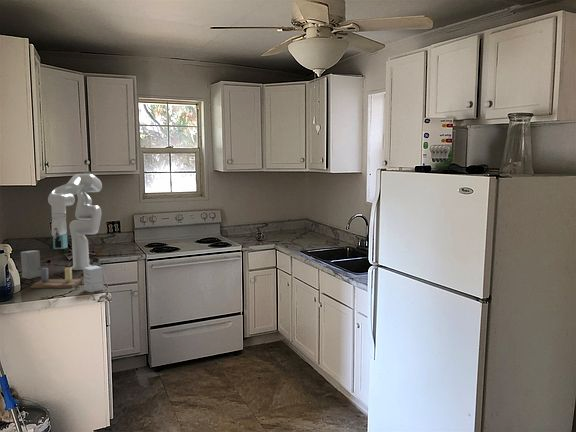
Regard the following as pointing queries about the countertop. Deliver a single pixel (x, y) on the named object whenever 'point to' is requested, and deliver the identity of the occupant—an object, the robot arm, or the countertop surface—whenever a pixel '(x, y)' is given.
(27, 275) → the skincare box
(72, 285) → the walnut base board
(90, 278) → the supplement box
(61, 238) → the turquoise block
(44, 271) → the dark steel post
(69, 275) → the brass post
